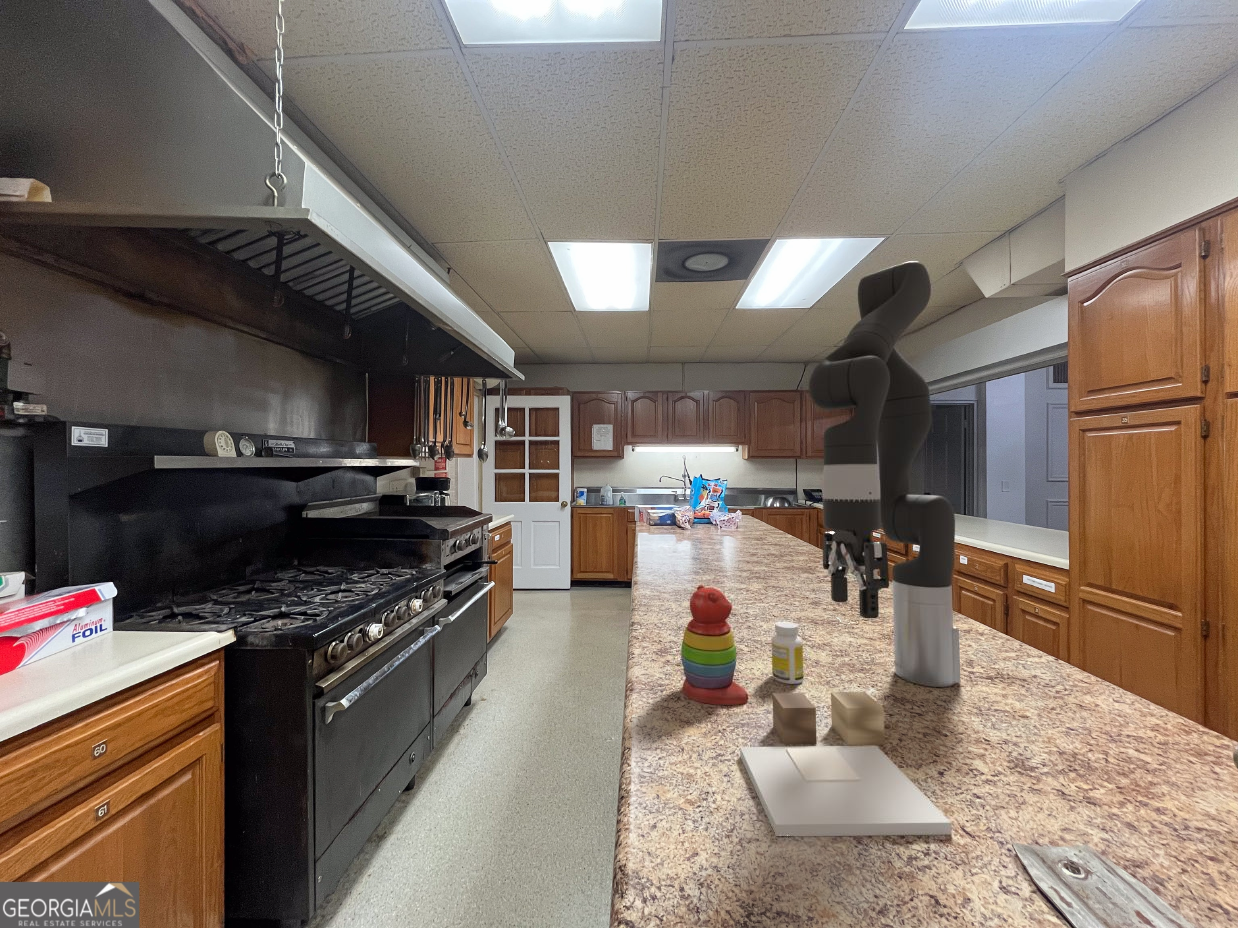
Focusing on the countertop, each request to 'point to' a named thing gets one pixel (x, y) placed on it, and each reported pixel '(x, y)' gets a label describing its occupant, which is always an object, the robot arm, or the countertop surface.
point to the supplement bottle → (787, 654)
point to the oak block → (857, 718)
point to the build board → (839, 792)
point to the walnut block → (794, 718)
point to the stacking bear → (710, 651)
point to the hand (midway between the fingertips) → (853, 608)
